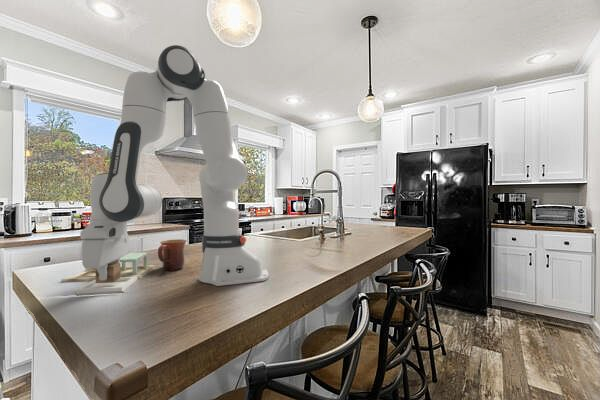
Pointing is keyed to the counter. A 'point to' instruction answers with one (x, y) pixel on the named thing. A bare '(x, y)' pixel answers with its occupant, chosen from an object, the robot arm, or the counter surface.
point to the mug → (172, 254)
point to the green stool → (134, 260)
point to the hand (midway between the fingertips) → (108, 276)
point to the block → (110, 273)
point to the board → (91, 274)
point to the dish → (106, 286)
